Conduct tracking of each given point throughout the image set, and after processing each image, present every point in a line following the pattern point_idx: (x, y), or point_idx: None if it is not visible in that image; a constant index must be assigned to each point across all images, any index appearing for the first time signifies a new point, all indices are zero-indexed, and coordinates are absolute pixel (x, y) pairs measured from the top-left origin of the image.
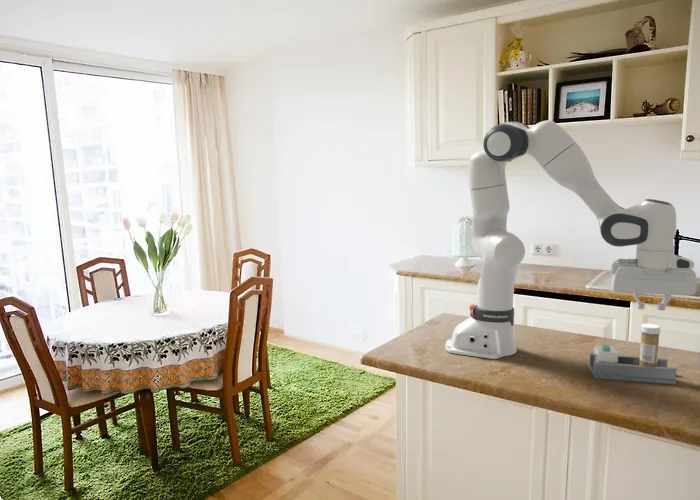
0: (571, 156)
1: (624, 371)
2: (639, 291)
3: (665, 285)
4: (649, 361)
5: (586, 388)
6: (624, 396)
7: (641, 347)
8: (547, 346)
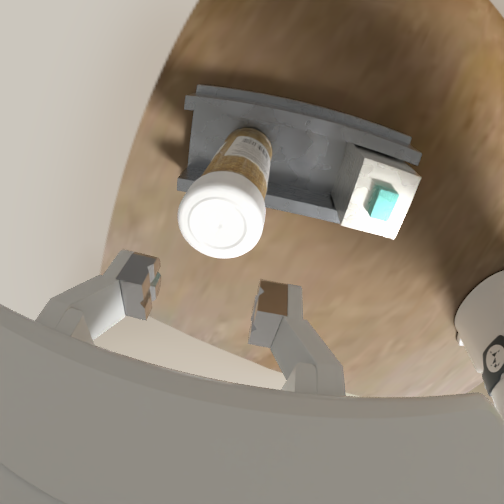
0: None
1: (339, 121)
2: (328, 411)
3: (25, 416)
4: (251, 138)
5: (455, 77)
6: (386, 14)
7: (267, 178)
8: (389, 325)
